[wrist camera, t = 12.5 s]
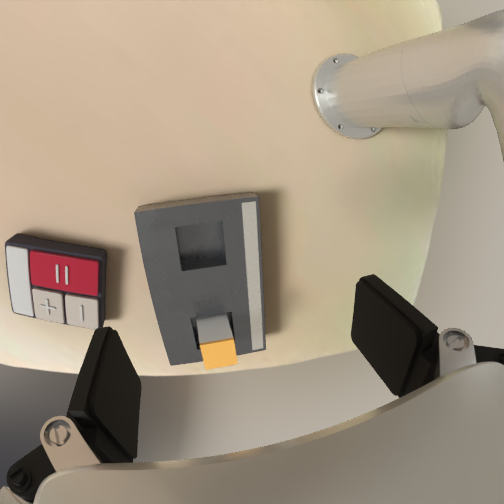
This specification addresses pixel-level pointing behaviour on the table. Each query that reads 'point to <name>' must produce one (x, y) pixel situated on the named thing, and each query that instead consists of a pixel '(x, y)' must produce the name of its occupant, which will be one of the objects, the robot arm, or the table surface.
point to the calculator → (56, 281)
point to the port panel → (204, 269)
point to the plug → (216, 341)
